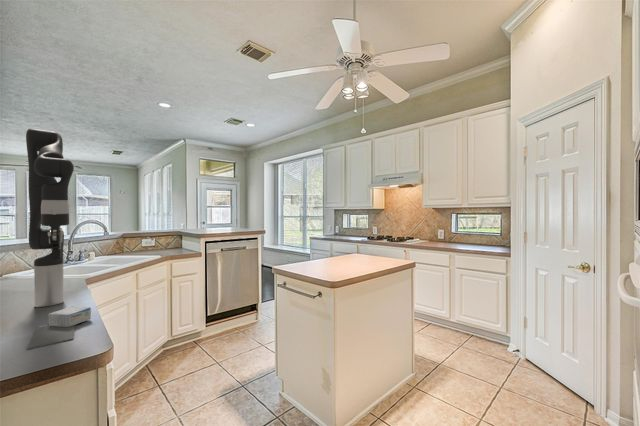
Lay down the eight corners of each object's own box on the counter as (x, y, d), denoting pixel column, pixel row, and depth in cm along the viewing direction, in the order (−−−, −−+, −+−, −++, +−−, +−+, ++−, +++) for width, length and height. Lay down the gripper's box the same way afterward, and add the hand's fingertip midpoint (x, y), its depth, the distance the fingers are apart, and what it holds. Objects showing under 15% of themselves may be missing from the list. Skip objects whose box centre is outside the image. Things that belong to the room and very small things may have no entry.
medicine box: (47, 326, 97) (68, 327, 95) (47, 313, 97) (68, 314, 95) (72, 317, 104) (91, 319, 103) (72, 305, 104) (91, 307, 103)
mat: (36, 328, 96) (36, 327, 96) (75, 321, 102) (75, 320, 102) (26, 349, 80) (26, 348, 80) (73, 339, 87) (73, 338, 87)
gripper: (43, 212, 106) (44, 258, 107) (38, 213, 96) (39, 263, 96) (69, 212, 111) (70, 255, 111) (68, 213, 101) (69, 261, 101)
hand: (56, 259), depth 104 cm, fingers closed
